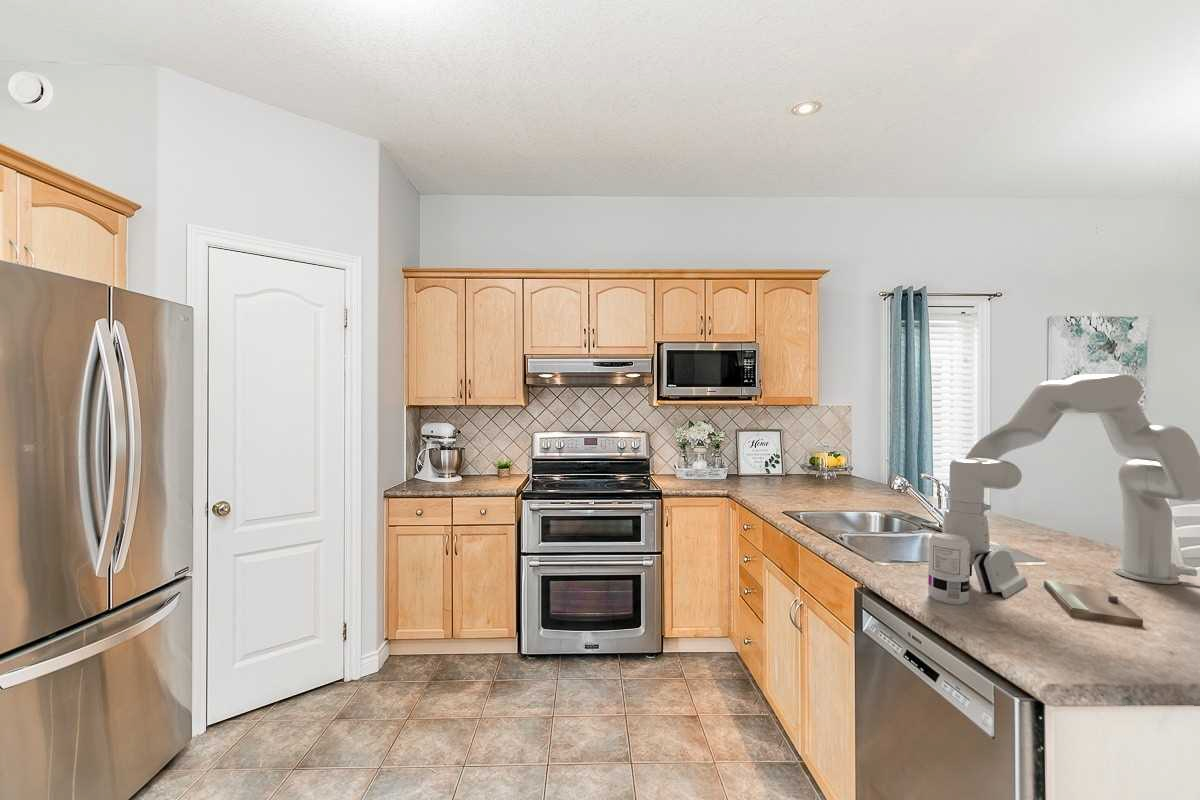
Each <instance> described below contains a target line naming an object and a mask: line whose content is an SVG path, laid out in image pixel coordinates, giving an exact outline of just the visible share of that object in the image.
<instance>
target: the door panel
mask: <svg viewBox="0 0 1200 800" xmlns="http://www.w3.org/2000/svg"><path fill="white" fill-rule="evenodd" d="M1043 587H1044V589H1045V590H1046V591H1047V592H1048V593H1049V594H1050V595H1051V596H1052V597H1053V599H1054V600H1055V601H1056V602H1057V603H1058V604H1059V605H1060V607H1062V609H1064V611H1065V612H1066V614H1068V615H1069V617H1073V618H1080V619H1085V620H1093V621H1099V622H1100V621H1101V622H1106V623H1107V622H1108V623H1114V624H1120V625H1128V626H1134V627H1142V628H1143V627H1144V619H1143V618H1141V617H1140V616H1139V615H1138V614H1137V613H1135V612H1134V611H1133V610H1132V609H1130V607H1129V606H1127V605H1126V604H1124V602H1122V601H1121V600H1119V598H1118V597H1119V596H1116V595H1114V594H1112V593H1111V592H1110V591H1109V590H1108V589H1106V588H1105V587H1098V586H1097V587H1096V586H1090V585H1089V586H1087V585H1081V584H1071V583H1065V582H1061V581H1054V580H1043Z"/></svg>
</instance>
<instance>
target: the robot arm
mask: <svg viewBox="0 0 1200 800" xmlns="http://www.w3.org/2000/svg"><path fill="white" fill-rule="evenodd" d="M1142 395H1143V386H1142V383H1141V382H1140V380H1139V379H1137V378H1136V377H1135V376H1133V375H1129V374H1125V373H1113V374H1111V373H1110V374H1108V373H1107V374H1078V375H1072V376H1070V377H1067V378H1065V379H1059V380H1058V379H1057V380H1056V379H1054V380H1046V381H1043V382H1041V383H1040V384H1038V385H1036V387H1034V389H1033V390H1032V392H1031V393H1030V394H1029V396H1027V398H1026V399H1025V401H1024V402H1023V403H1022V405H1021V406H1020V408H1018V410H1017V411H1016V412H1015V413H1014V415H1013V416H1012V418H1011V419H1010V420H1009V421H1008V422H1007V423H1005V424H1003V425H1001V426H999V427H998V428H996V429H994V430H993V431H992V432H990V433H988V434H986V435H985V436H983V437H982V438H981V439H980V440H978V441H977V442H976V444H974V445H973V446H972V448H971V450H969V452H968V453H967V455H966V456H965V458H962V459H961V458H960V459H959V458H958V459H952V460H951V462H950V464H949V486H948V487H949V488H948V489H949V491H948V493H949V494H948V498H949V499H948V509H945V511H944V514H943V519H942V526H941V527H942V529H941V533H952V534H957V535H961V536H964V537H966V538H967V541H968V543H969V544H970V577H972V576H973V566H974V562H975V560H976V558H977V557H978V556H979V555H980V554H987V555H988V554H989V551H990V547H991V546H990V528H989V522H988V521H989V520H988V516H987V514H986V513H985V512H986V511H991V509H992V508H991V507H992V506H991V505H990V504H987V503H985V489H994V490H1000V491H1006V490H1013V489H1014V488H1016V487H1017V486H1018V485H1019V484H1020V483H1021V481H1022V478H1023V475H1022V470H1021V469H1020V468H1019V466H1017V465H1016V464H1015V463H1013V462H1011V461H1007V460H1004V459H1003V460H1002V459H1000V458H1001V457H1003V456H1005V454H1007V453H1009V452H1011V451H1014V450H1017V449H1022V448H1025V447H1030V446H1032V445H1035V444H1038V443H1041V442H1043V441H1044V440H1045V439H1046V438H1047V437H1048V435H1049V434H1050V433H1051V431H1052V430H1053V428H1054V427H1055V425H1057V423H1058V422H1059V421H1060V419H1061V418H1062V417H1063V415H1064V414H1083V415H1084V414H1094V413H1096V414H1097V415H1098V417H1099V419H1100V421H1101V423H1102V425H1103V427H1104V430H1105V431H1106V434H1107V436H1108V439H1109V442H1110V443H1111V446H1112V448H1113V450H1114V452H1115V453H1116V454H1117V455H1119V456H1121V457H1123V458H1126V459H1129V460H1128V461H1126V462H1124V463H1122V465H1121V466H1120V468H1119V470H1118V482H1119V486H1120V491H1121V495H1122V496H1121V497H1122V527H1121V528H1122V531H1121V532H1122V533H1121V534H1122V535H1121V536H1122V537H1121V564H1120V565H1115V566H1114V567H1113V572H1114V573H1115V574H1117V575H1119V576H1123V577H1124V578H1128V579H1131V580H1135V581H1140V582H1146V583H1152V584H1159V585H1161V584H1162V585H1176V584H1179V583H1180V576H1181V575H1183V576H1188V577H1189V576H1190V577H1197V576H1198V571H1197V569H1196V568H1189V567H1186V566H1182V565H1176V564H1175V563H1174V562H1172V550H1173V549H1172V545H1173V543H1172V542H1173V541H1172V540H1173V512H1172V509H1171V506H1170V504H1169V503H1168V501H1167V500H1166V499H1168V500H1169V499H1170V500H1174V501H1181V502H1195V501H1199V500H1200V453H1199V451H1198V449H1197V447H1196V444H1195V442H1194V440H1193V438H1192V436H1191V435H1190V434H1189V433H1188V432H1187V431H1185V430H1184V429H1182V428H1180V427H1177V426H1174V425H1168V424H1154V423H1151V422H1149V420H1148V419H1147V417H1146V415H1145V413H1144V410H1143V409H1142V407H1141V405H1140V403H1139V400H1140V399H1141V397H1142ZM1130 459H1131V460H1130Z"/></svg>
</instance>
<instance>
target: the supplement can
mask: <svg viewBox="0 0 1200 800" xmlns="http://www.w3.org/2000/svg"><path fill="white" fill-rule="evenodd" d="M970 577H971V576H970V544H969V543H968V541H967V538H966V537H964V536H961V535H957V534H952V533H942V532H934V533H932V534H931V537H930V538H929V539H928V587H927V588H928V591H927V592H928V595H929V596H930V598H931V599H933V600H935V601H938V602H939V603H944V604H947V605H948V604H949V605H957V606H960V605H965V604H966V603H967V602H969V601H970V582H971V581H970V579H971V578H970Z"/></svg>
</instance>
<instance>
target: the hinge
mask: <svg viewBox="0 0 1200 800" xmlns="http://www.w3.org/2000/svg"><path fill="white" fill-rule="evenodd" d="M1014 561H1015V560H1014V559H1013V557H1012V554H1011V553H1010V552H1009V551H1007V550H1003V549H1002V550H1000V549H997V550H995V549H994V550H989V554H988V555H987V554H980V555H979V556H978V557H977V558H976V560H975V562H974V564H973V567H974V571H975V574H976V578H977V580H978V581H977V582H978V584H979V587H980V591H981V594H987V593H989V592H992V593H1001V594H1002V597H1003V599H1007V598H1009V597H1010V596H1012V595H1013V594H1015V593H1016V592H1017V593H1018V591H1020V590H1022V589H1024V587H1027V586H1028V585H1029V584H1028V581H1027V578H1026V577H1025V576H1024V575H1022V574H1020V573H1019V571H1018V568H1017V566H1016V563H1015V562H1014Z"/></svg>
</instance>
